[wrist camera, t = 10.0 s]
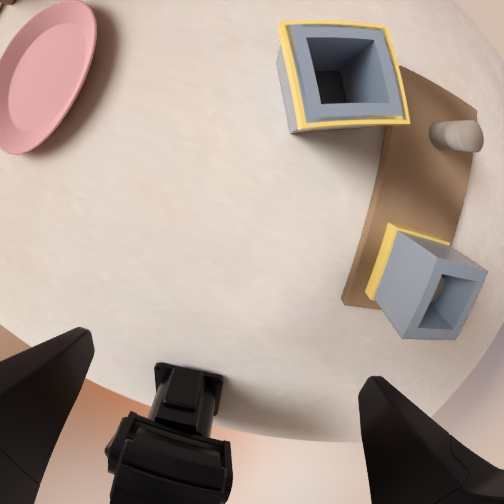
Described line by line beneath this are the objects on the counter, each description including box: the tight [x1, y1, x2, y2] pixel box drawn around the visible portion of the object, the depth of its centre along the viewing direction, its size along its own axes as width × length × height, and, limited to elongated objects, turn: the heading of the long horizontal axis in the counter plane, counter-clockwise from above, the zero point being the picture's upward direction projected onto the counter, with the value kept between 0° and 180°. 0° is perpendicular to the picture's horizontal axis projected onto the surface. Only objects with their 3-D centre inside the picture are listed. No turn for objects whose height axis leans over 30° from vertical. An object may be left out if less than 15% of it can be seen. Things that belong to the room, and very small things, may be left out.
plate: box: [0, 0, 97, 155], centre depth 13 cm, size 14×14×2 cm
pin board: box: [341, 66, 484, 310], centre depth 15 cm, size 18×8×5 cm, turn 170°
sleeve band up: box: [276, 21, 410, 133], centre depth 12 cm, size 5×5×6 cm
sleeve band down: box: [365, 222, 488, 340], centre depth 15 cm, size 5×5×6 cm
